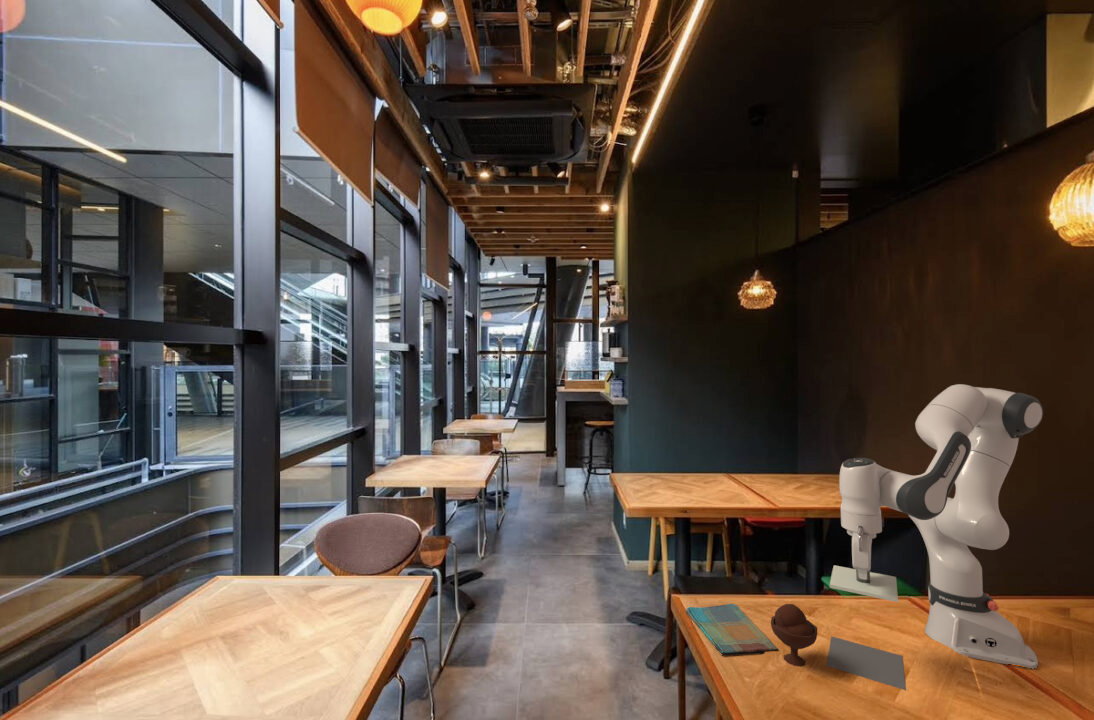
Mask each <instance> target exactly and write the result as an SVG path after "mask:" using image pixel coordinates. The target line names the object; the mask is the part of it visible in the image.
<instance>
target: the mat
mask: <svg viewBox="0 0 1094 720" xmlns="http://www.w3.org/2000/svg"><path fill="white" fill-rule="evenodd" d="M828 649H829V650H828V655H827V661H826V667H830V668H833V669H835V670H839V671H841V672H845V673H848V674H851V675H854V676H855V675H856V676H857V677H858V676H859V677H861V678H864V679H866V680H871V681H874V682H878V683H880V684H884V685H888V686H891V687H894V688H897V689H900V690H903V691H906V690H907V687H906V679H905V678H906V677H905V667H904V657H903V655H901V654H897V653H894V652H891V651H886V650H883V649H879V648H876V647H872V646H868V645H864V644H861V643H858V642H854V641H850V640H847V639H843V638H839V637H835V636H831V637H830V643H829V648H828Z"/></svg>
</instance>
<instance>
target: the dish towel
mask: <svg viewBox="0 0 1094 720" xmlns="http://www.w3.org/2000/svg"><path fill="white" fill-rule="evenodd" d="M685 609H686V610H685V613H686V615H687V616H688V618H689V619H691V621H692V622H693V623H694V624H695V625H696V626H697V627H698V628H699V630H700V631H701V632H702V633H703V635H704V636H705V637H706V638H707V639H708V641H709V642H710V643H711V644H712V646H713V645H714V646H715V647H714V646H713V647H714V649H715V650H716V651H717V652H718V651H719V652H720V653H721V654H722V655H721V654H720V653H719V652H718V653H719V654H720V655H721V657H722V656H725V657H734V656H738V657H739V656H746V655H747V656H749V655H750V656H751V655H753V656H754V655H763V654H765V653H766V652H771V651H779V650H780V649H779V648H778V647H777V646H776V645H775V644H774V643H773V642H772V641H771V640H770V639H769V638H768V636H766V634H765V633H763V631H762V630H761V629H760V628H759V627H758V626H757V625H756V624H755V623H754V622H753V621H752V620H751V619H750V618H749V617H748V616H747V615H746V614H745V612H744V611H742V609H741V608H740V607H739V606H738V605H737V604H735V603H727V604H721V605H720V604H719V605H712V606H704V607H703V606H702V607H701V606H699V607H698V606H697V607H694V606H688V607H686V608H685Z"/></svg>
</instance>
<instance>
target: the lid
mask: <svg viewBox="0 0 1094 720" xmlns="http://www.w3.org/2000/svg"><path fill="white" fill-rule="evenodd" d="M829 588H830V589H834V590H839V591H844V592H849V593H853V594H858V595H863V596H867V597H872V598H876V599H881V600H885V601H891V602H896V603H899V597H898V596H899V595H898V585H897V576H892V575H888V574H884V573H883V574H882V573H877V572H872V571H871V570H870V571H867V580H864V579H860V578H859V572H858V569H855V568H850V567H845V566H839V565H833V568H832V571H831V576H830V581H829Z"/></svg>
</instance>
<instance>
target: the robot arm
mask: <svg viewBox="0 0 1094 720" xmlns="http://www.w3.org/2000/svg"><path fill="white" fill-rule="evenodd" d="M1043 417H1044V409H1043V405H1042V404H1041V402H1040V401H1039V399H1038V398H1036V397H1034V396H1033V395H1029V394H1026V393H1023V392H1015V391H1009V390H1004V389H998V388H994V387H993V388H992V387H979V386H972V385H968V384H964V383H963V384H961V383H959V384H958V383H957V384H954V385H953V384H952V385H949V386H948V387H946V389H944V390H943V391H942V392H939V394H937V395H936V396H935V397H934V398H933V399H932V400H931V401H930V402H929V403H928V404H927V405H926V406H925V408H924V409H923V410H922V411H920V413H919V414H918V416H917V418H916V419H915V423H914V426H915V431H916V433H917V435H918V436H919V437H920V439H921V440H922V441H923V442H924V443H925V444H926V445H928V446H929V447H930V448H932V449H933V450H935V451H936V453H935V455H934V456H933V458H932V460H931V462H930V463H929V464H928V467H927V468H926V470H925V472H923V473H922V474H918V475H912V474H907V473H903V472H901V471H900V472H898V471H896V470H892V469H889V468H886V467H885V466H884V467H883V466H881V465H880V464H877V462H876V461H875V460H873V459H870V458H866V457H853V458H849V459H846V460H844V461H843V462H842V464H841V466H840V468H839V469H840V471H839V477H838V478H839V479H838V480H839V484H838V485H839V494H840V497H841V503H840V525H841V527H842V528H844V529H845V530H846V533H847V534H848V535H849V536H851V557H852V558H851V559H852V561H851V563H852V567H853V569H858V572H859V578H860V579H864V580H867V571H870V572H871V568H872V561H871V560H872V543H873V539H876V538H877V534H880V533H882V532H883V526H882V522H883V521H882V510H881V507H887V508H889V509H892V510H895V511H897V512H901V513H904V514H906V515H908V517H909V518H910V520H912V521H913V523H914V525H916V527H917V529H918V531H919V532H920V534H921V537H922V538H923V539H922V540H923V541H924V542H923V543H924V544H925V548H926V550H927V555H928V561H929V562H928V563H929V574H930V575H929V577H930V581H929V582H928V586H927V589H928V590H927V591H928V593H927V594H928V601H929V603H930V604H929V612H928V618H927V622H926V625H925V627H924V632H925V634H926V635H927V637H929V638H930V639H932V640H933V641H936V642H938V643H940V644H942V645H944V646H946V647H948V648H950V649H951V650H953V651H954V652H956V653H958V654H959V655H962V656H965V657H968V658H971V659H977V660H980V661H981V660H982V661H983V660H984V661H987V662H993V663H998V664H1003V665H1008V664H1015V665H1020V666H1024V667H1028V668H1027V669H1029V668H1032V669H1031V670H1035V669H1037V668H1038V667H1037V666H1039V660H1038V657H1037V655H1036V653H1035V652H1034V650H1033V649H1032V648H1031V647H1030V646H1029V645H1027V644H1026V643H1025V642H1024V639H1023V636H1022V634H1021V632H1020V631H1019V629H1018V627H1016V625H1014V623H1012V622H1011V621H1010V620H1008V619H1007V618H1006V617H1004V616H1003V615H1002V614H1001V613H999V612H997V611H998V610H999V608H1000V607H999V605H998V604H997V603H996V601H994V599H993V598H992V597H991V596H990V595H989V594H988V593H987V592H986V593H985V592H984V591H983V589H984V587H983V568H982V565H981V563H980V561H979V560H978V558H976V557H975V555H974V554H973V553H972V551H971V550H970V549H969V547H972V548H977V549H983V550H989V551H994V550H998V549H1000V548H1002V547H1003V546H1005V545H1006V543H1007V542H1008V541H1009V537H1010V528H1009V525H1008V523H1007V522H1006V520H1005V519H1004V517H1003V516H1002V514H1001V511H1000V509H999V508H1000V507H999V495H1000V491H1001V488H1002V485H1003V483H1004V481H1005V478H1006V477H1007V475H1008V473H1009V471H1010V468H1011V467H1012V464H1013V462H1014V459H1015V457H1016V452H1017V450H1018V445H1019V439H1020V438H1022V437H1023V436H1025V434H1029V433H1031V432H1032V431H1034V430H1035V429H1036V428H1038V426H1039V425H1040V424H1041V422H1042V419H1043ZM954 485H955V494H954V497H953V498H952V497H949V494H950V492H951V490H952V489H953V487H954ZM968 546H969V547H968ZM1034 668H1035V669H1034Z"/></svg>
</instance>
